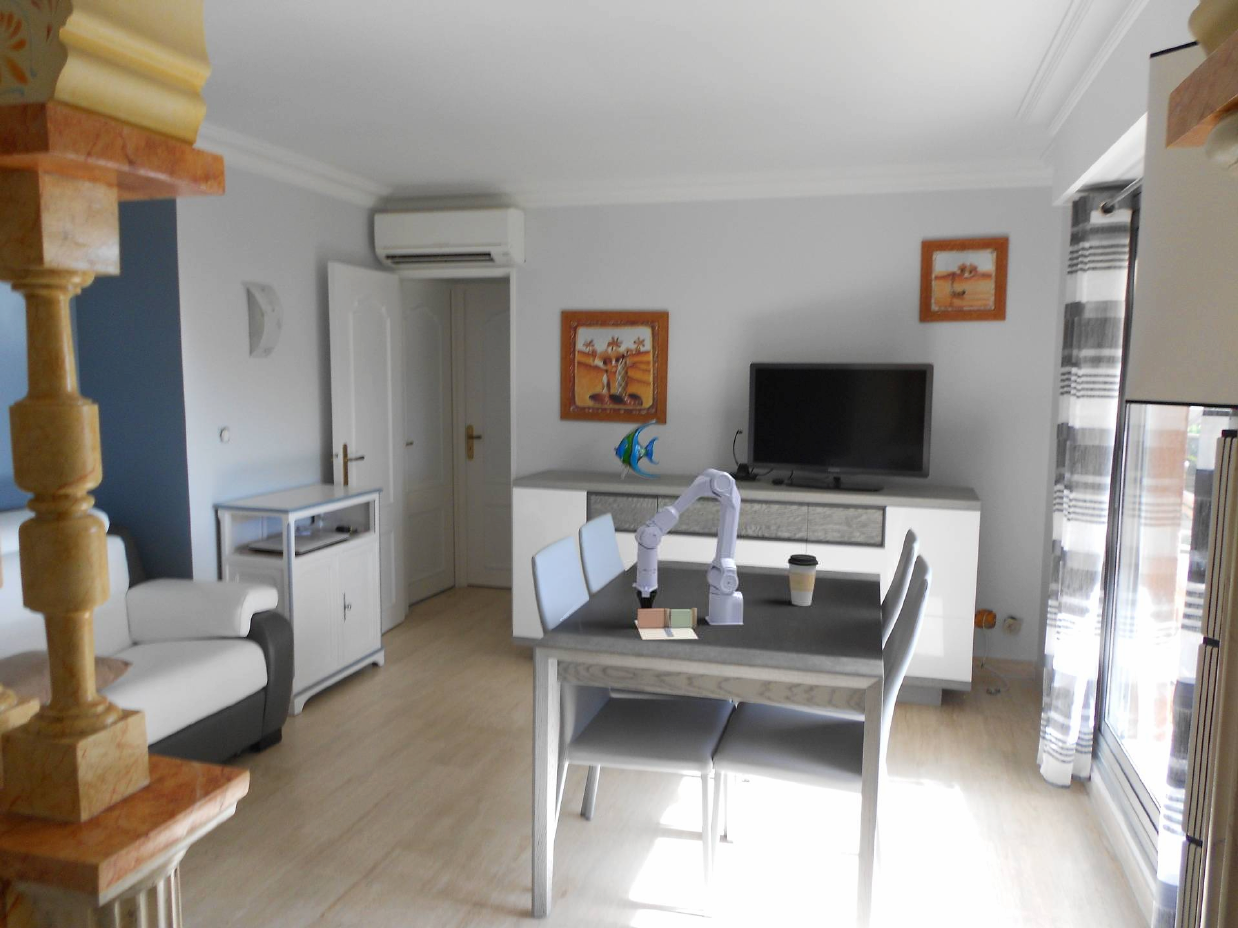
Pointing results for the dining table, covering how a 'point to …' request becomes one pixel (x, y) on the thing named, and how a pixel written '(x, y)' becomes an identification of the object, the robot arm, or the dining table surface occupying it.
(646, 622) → the fence panel
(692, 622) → the fence fixed
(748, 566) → the dining table surface
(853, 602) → the dining table surface
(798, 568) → the coffee cup
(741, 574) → the dining table surface
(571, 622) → the dining table surface
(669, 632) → the card
